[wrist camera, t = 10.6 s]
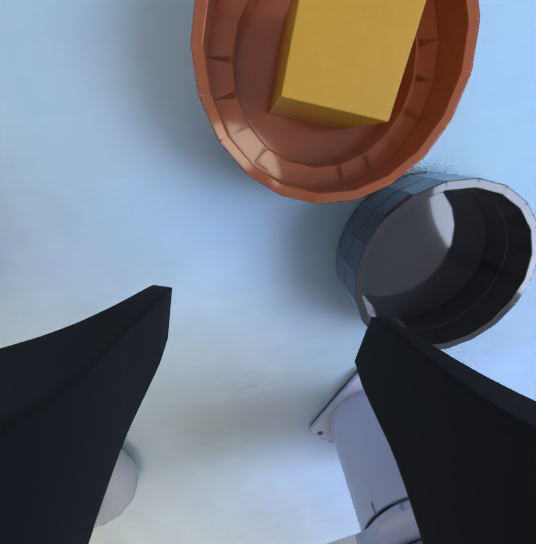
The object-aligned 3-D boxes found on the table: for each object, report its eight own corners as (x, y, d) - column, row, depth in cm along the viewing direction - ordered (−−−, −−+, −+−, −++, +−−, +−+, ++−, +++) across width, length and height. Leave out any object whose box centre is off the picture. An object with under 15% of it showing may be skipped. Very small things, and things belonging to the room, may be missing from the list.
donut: (143, 496, 30) (141, 427, 26) (131, 538, 27) (127, 468, 23) (36, 495, 28) (17, 422, 25) (10, 538, 25) (-17, 464, 21)
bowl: (464, 38, 16) (539, 1, 12) (336, 224, 20) (361, 244, 16) (280, -138, 13) (296, -269, 9) (169, 120, 17) (144, 112, 13)
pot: (519, 225, 21) (577, 242, 17) (415, 339, 24) (446, 374, 21) (405, 137, 18) (446, 135, 14) (306, 280, 21) (318, 308, 18)
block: (366, 39, 15) (433, -21, 10) (342, 129, 17) (388, 122, 12) (285, 16, 15) (309, -60, 9) (268, 113, 16) (280, 96, 11)
